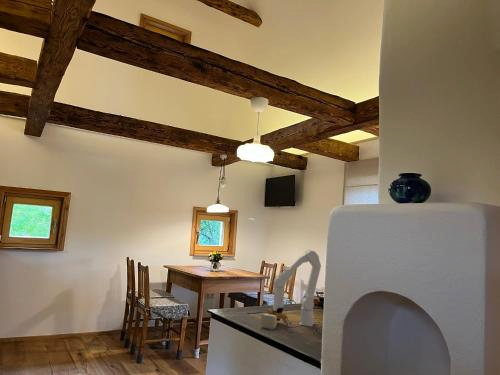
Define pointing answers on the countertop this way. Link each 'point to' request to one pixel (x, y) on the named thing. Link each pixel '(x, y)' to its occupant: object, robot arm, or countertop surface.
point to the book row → (268, 321)
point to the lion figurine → (278, 315)
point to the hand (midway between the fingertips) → (277, 320)
